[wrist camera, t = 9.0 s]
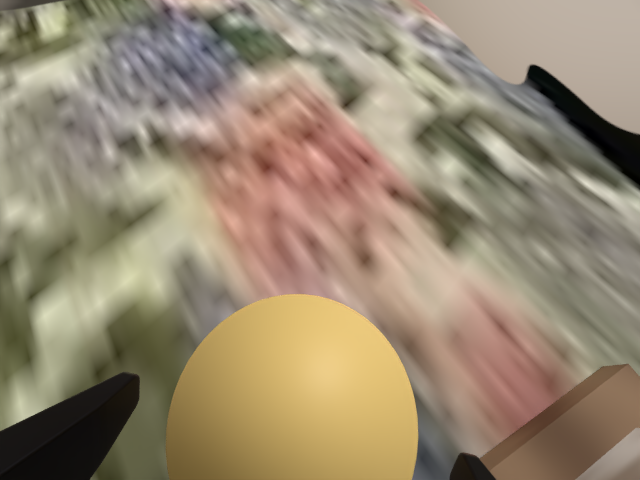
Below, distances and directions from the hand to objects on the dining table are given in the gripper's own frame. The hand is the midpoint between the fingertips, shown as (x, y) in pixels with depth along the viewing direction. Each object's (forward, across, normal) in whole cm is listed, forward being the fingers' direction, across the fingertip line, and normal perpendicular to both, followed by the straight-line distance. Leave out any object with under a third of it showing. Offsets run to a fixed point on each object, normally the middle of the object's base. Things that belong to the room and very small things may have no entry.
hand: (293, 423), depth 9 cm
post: (+6, 0, +5) cm, 7 cm away
